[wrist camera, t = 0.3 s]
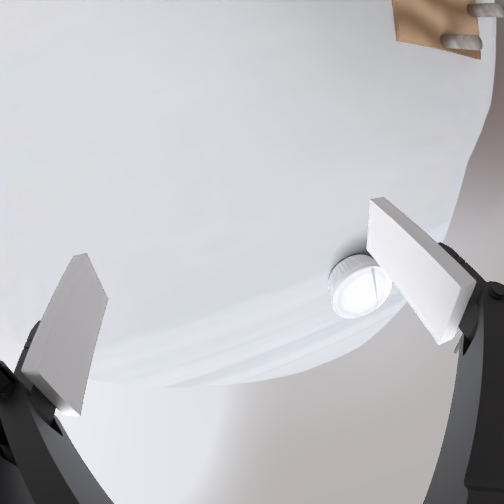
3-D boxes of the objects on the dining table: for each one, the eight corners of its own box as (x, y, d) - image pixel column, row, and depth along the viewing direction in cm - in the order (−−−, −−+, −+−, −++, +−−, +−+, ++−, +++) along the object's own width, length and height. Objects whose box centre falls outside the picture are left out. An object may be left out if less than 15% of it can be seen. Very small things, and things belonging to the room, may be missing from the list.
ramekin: (389, 265, 53) (403, 282, 49) (350, 307, 57) (361, 326, 53) (352, 237, 48) (367, 254, 44) (309, 286, 52) (319, 306, 48)
